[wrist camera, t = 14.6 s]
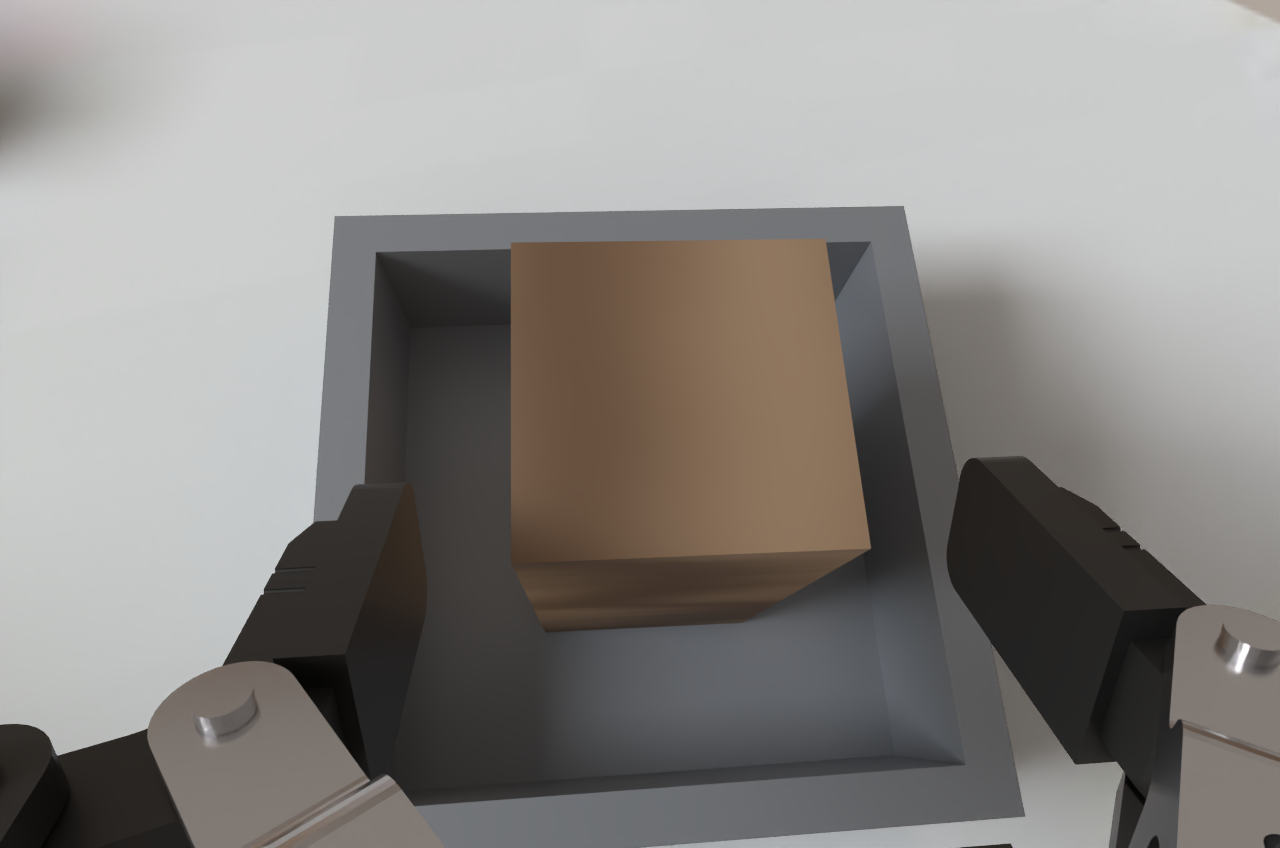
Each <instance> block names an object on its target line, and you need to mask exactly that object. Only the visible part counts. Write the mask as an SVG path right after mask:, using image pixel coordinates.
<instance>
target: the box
mask: <svg viewBox="0 0 1280 848" xmlns="http://www.w3.org/2000/svg"><path fill="white" fill-rule="evenodd" d="M772 239H826V246H827V252H828V259H829V266H830V273H831V279H832V286H833V293H834V300H835V307H836V313H837V320H838V327H839V334H840V341H841V347H842V354H843V361H844V368H845V375H846V381H847V388H848V395H849V402H850V408H851V415H852V422H853V429H854V436H855V442H856V449H857V456H858V463H859V470H860V476H861V483H862V490H863V497H864V503H865V510H866V517H867V524H868V531H869V537H870V544H871V549H870V550H868V551H866V552H864V553H863V554H861V555H859V556H857V557H856V558H854V559H852V560H850V561H849V562H847V563H845V564H843V565H842V566H840V567H838V568H837V569H835V570H833V571H831V572H830V573H828V574H826V575H824V576H823V577H821V578H819V579H817V580H816V581H814V582H812V583H811V584H809V585H807V586H805V587H804V588H802V589H800V590H798V591H797V592H795V593H793V594H791V595H790V596H788V597H786V598H785V599H783V600H781V601H779V602H778V603H776V604H774V605H772V606H771V607H769V608H767V609H765V610H764V611H762V612H760V613H758V614H757V615H755V616H753V617H752V618H750V619H748V620H746V621H745V622H743V623H730V624H709V625H688V626H667V627H646V628H626V629H605V630H584V631H563V632H545V631H544V629H543V627H542V625H541V623H540V621H539V619H538V617H537V615H536V613H535V611H534V609H533V607H532V605H531V603H530V601H529V599H528V597H527V595H526V593H525V591H524V589H523V587H522V585H521V583H520V581H519V579H518V577H517V575H516V573H515V571H514V569H513V567H512V565H511V243H512V242H599V241H685V240H772ZM399 482H409V483H410V484H411V485H412V488H413V491H414V495H415V501H416V508H417V515H418V521H419V528H420V535H421V542H422V549H423V555H424V562H425V569H426V578H427V606H426V615H425V620H424V624H423V628H422V632H421V636H420V641H419V645H418V649H417V653H416V657H415V661H414V665H413V670H412V674H411V678H410V682H409V686H408V690H407V694H406V699H405V703H404V707H403V711H402V715H401V719H400V723H399V728H398V732H397V736H396V740H395V744H394V748H393V752H392V757H391V761H390V765H389V769H388V773H387V775H388V776H389V777H391V778H392V779H393V780H394V781H395V782H396V783H397V784H398V786H399V787H400V788H401V789H402V791H403V792H404V793H405V795H406V796H407V797H408V799H409V800H410V801H411V803H412V804H413V805H414V807H415V808H416V809H417V811H418V812H419V813H420V814H421V816H422V817H423V818H424V820H425V821H426V822H427V824H428V825H429V826H430V828H431V829H432V830H433V832H434V833H435V834H436V836H437V837H438V838H439V840H440V841H441V842H442V844H443V845H444V846H445V848H640V847H652V846H665V845H677V844H689V843H702V842H714V841H727V840H739V839H751V838H764V837H776V836H789V835H801V834H813V833H826V832H838V831H851V830H863V829H875V828H888V827H900V826H912V825H925V824H937V823H950V822H962V821H974V820H987V819H999V818H1012V817H1024V816H1025V813H1024V808H1023V803H1022V798H1021V793H1020V788H1019V783H1018V778H1017V773H1016V768H1015V763H1014V758H1013V753H1012V748H1011V743H1010V738H1009V733H1008V728H1007V723H1006V718H1005V713H1004V708H1003V703H1002V698H1001V693H1000V688H999V683H998V678H997V673H996V668H995V663H994V658H993V652H992V647H991V642H990V640H989V639H988V637H987V636H986V634H985V633H984V631H983V630H982V628H981V627H980V626H979V624H978V623H977V621H976V620H975V618H974V617H973V615H972V614H971V613H970V611H969V610H968V608H967V607H966V605H965V604H964V602H963V601H962V600H961V598H960V597H959V595H958V594H957V592H956V591H955V589H954V587H953V585H952V583H951V580H950V577H949V573H948V568H947V558H946V554H947V544H948V539H949V534H950V528H951V523H952V518H953V513H954V507H955V502H956V497H957V491H958V486H959V482H958V476H957V471H956V466H955V461H954V456H953V451H952V446H951V441H950V436H949V431H948V426H947V421H946V416H945V411H944V406H943V401H942V396H941V391H940V386H939V381H938V376H937V371H936V366H935V361H934V356H933V351H932V346H931V341H930V336H929V331H928V326H927V321H926V316H925V311H924V305H923V300H922V295H921V290H920V285H919V280H918V275H917V270H916V265H915V260H914V255H913V250H912V245H911V240H910V235H909V230H908V225H907V220H906V215H905V210H904V206H886V207H830V208H774V209H718V210H663V211H607V212H551V213H495V214H439V215H383V216H335V222H334V236H333V250H332V264H331V279H330V293H329V307H328V321H327V336H326V350H325V364H324V379H323V393H322V407H321V421H320V436H319V450H318V464H317V478H316V493H315V507H314V521H313V523H314V522H316V521H333V520H337V519H338V517H339V515H340V513H341V511H342V509H343V507H344V505H345V502H346V500H347V498H348V496H349V494H350V492H351V490H352V488H353V486H354V485H356V484H376V483H399Z"/></svg>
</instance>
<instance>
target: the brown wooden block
mask: <svg viewBox="0 0 1280 848" xmlns="http://www.w3.org/2000/svg"><path fill="white" fill-rule="evenodd" d="M870 549H871V544H870V537H869V531H868V524H867V517H866V510H865V503H864V497H863V490H862V483H861V476H860V470H859V463H858V456H857V449H856V442H855V436H854V429H853V422H852V415H851V408H850V402H849V395H848V388H847V381H846V375H845V368H844V361H843V354H842V347H841V341H840V334H839V327H838V320H837V313H836V307H835V300H834V293H833V286H832V279H831V273H830V266H829V259H828V252H827V246H826V239H772V240H685V241H599V242H512V243H511V565H512V567H513V569H514V571H515V573H516V575H517V577H518V579H519V581H520V583H521V585H522V587H523V589H524V591H525V593H526V595H527V597H528V599H529V601H530V603H531V605H532V607H533V609H534V611H535V613H536V615H537V617H538V619H539V621H540V623H541V625H542V627H543V629H544V631H545V632H563V631H584V630H605V629H626V628H646V627H667V626H688V625H709V624H730V623H743V622H745V621H746V620H748V619H750V618H752V617H753V616H755V615H757V614H758V613H760V612H762V611H764V610H765V609H767V608H769V607H771V606H772V605H774V604H776V603H778V602H779V601H781V600H783V599H785V598H786V597H788V596H790V595H791V594H793V593H795V592H797V591H798V590H800V589H802V588H804V587H805V586H807V585H809V584H811V583H812V582H814V581H816V580H817V579H819V578H821V577H823V576H824V575H826V574H828V573H830V572H831V571H833V570H835V569H837V568H838V567H840V566H842V565H843V564H845V563H847V562H849V561H850V560H852V559H854V558H856V557H857V556H859V555H861V554H863V553H864V552H866V551H868V550H870Z"/></svg>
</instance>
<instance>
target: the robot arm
mask: <svg viewBox="0 0 1280 848" xmlns="http://www.w3.org/2000/svg"><path fill="white" fill-rule="evenodd" d="M946 558H947V568H948V573H949V577H950V580H951V583H952V585H953V587H954V589H955V591H956V592H957V594H958V595H959V597H960V598H961V600H962V601H963V602H964V604H965V605H966V607H967V608H968V610H969V611H970V613H971V614H972V615H973V617H974V618H975V620H976V621H977V623H978V624H979V626H980V627H981V628H982V630H983V631H984V633H985V634H986V636H987V637H988V639H989V640H990V642H991V643H992V644H993V646H994V647H995V649H996V650H997V652H998V653H999V655H1000V656H1001V657H1002V659H1003V660H1004V662H1005V663H1006V665H1007V666H1008V668H1009V669H1010V670H1011V672H1012V673H1013V675H1014V676H1015V678H1016V679H1017V681H1018V682H1019V683H1020V685H1021V686H1022V688H1023V689H1024V691H1025V692H1026V694H1027V695H1028V696H1029V698H1030V699H1031V701H1032V702H1033V704H1034V705H1035V707H1036V708H1037V710H1038V711H1039V712H1040V714H1041V715H1042V717H1043V718H1044V720H1045V721H1046V723H1047V724H1048V725H1049V727H1050V728H1051V730H1052V731H1053V733H1054V734H1055V736H1056V737H1057V738H1058V740H1059V741H1060V743H1061V744H1062V746H1063V747H1064V749H1065V750H1066V751H1067V753H1068V754H1069V756H1070V757H1071V759H1072V760H1073V762H1074V763H1075V764H1089V763H1103V762H1116V761H1117V763H1118V764H1119V765H1120V767H1121V768H1122V769H1123V771H1124V772H1123V775H1122V778H1121V780H1120V783H1119V786H1118V789H1117V793H1116V799H1115V806H1114V814H1113V821H1112V828H1111V835H1110V843H1109V848H1280V623H1279V622H1277V621H1275V620H1273V619H1270V618H1268V617H1265V616H1263V615H1260V614H1257V613H1254V612H1251V611H1247V610H1243V609H1239V608H1235V607H1229V606H1220V605H1206V604H1205V603H1204V602H1203V601H1202V600H1201V599H1200V598H1198V597H1197V596H1196V595H1195V594H1194V593H1193V592H1192V591H1191V590H1190V589H1188V588H1187V587H1186V586H1185V585H1184V584H1183V583H1182V582H1181V581H1180V580H1178V579H1177V578H1176V577H1175V576H1174V575H1173V574H1172V573H1171V572H1170V571H1168V570H1167V569H1166V568H1165V567H1164V566H1163V565H1162V564H1161V563H1160V562H1158V561H1157V560H1156V559H1155V558H1154V557H1153V556H1152V555H1151V554H1150V553H1149V552H1147V551H1146V550H1141V549H1140V544H1139V543H1137V542H1136V541H1135V540H1134V539H1133V538H1132V537H1131V536H1130V535H1129V534H1127V533H1126V532H1125V531H1122V532H1121V531H1120V526H1119V525H1117V524H1116V523H1115V522H1114V521H1113V520H1112V519H1111V518H1110V517H1109V516H1107V515H1106V514H1105V513H1104V512H1103V511H1102V510H1101V509H1100V508H1099V507H1097V506H1096V505H1095V504H1093V503H1091V502H1089V501H1087V500H1085V499H1083V498H1081V497H1079V496H1077V495H1075V494H1073V493H1072V492H1070V491H1068V490H1066V489H1064V488H1062V487H1058V486H1056V485H1055V484H1054V483H1053V482H1052V481H1051V480H1050V479H1049V478H1048V477H1047V476H1046V475H1045V474H1044V473H1043V472H1041V471H1040V470H1039V469H1038V468H1037V467H1036V466H1035V465H1034V464H1033V463H1032V462H1031V461H1030V460H1028V459H1027V458H1025V457H1023V456H1012V457H990V458H972V459H969V460H968V461H967V462H966V463H965V465H964V467H963V469H962V472H961V476H960V481H959V486H958V491H957V497H956V502H955V507H954V513H953V518H952V523H951V528H950V534H949V539H948V544H947V554H946ZM426 606H427V578H426V569H425V562H424V555H423V549H422V542H421V535H420V528H419V521H418V515H417V508H416V501H415V495H414V491H413V488H412V485H411V484H410V483H409V482H399V483H376V484H356V485H354V486H353V488H352V490H351V492H350V494H349V496H348V498H347V500H346V502H345V505H344V507H343V509H342V511H341V513H340V515H339V517H338V519H337V520H333V521H316V522H314V523H313V524H312V525H311V526H310V527H308V528H307V529H306V530H305V531H303V532H302V533H301V534H300V535H298V536H297V537H296V538H295V539H294V540H292V541H291V542H290V543H289V544H288V546H287V548H286V549H285V551H284V553H283V555H282V557H281V559H280V560H279V562H278V564H277V566H276V568H275V574H272V575H271V577H270V579H269V581H268V583H267V584H266V586H265V588H264V595H261V596H260V597H259V599H258V601H257V603H256V605H255V607H254V609H253V610H252V612H251V614H250V616H249V618H248V620H247V621H246V623H245V625H244V627H243V629H242V631H241V633H240V634H239V636H238V638H237V640H236V642H235V644H234V645H233V647H232V649H231V651H230V653H229V655H228V657H227V658H226V660H225V662H224V664H223V666H221V667H218V668H215V669H213V670H210V671H207V672H205V673H203V674H201V675H199V676H197V677H195V678H193V679H191V680H190V681H188V682H186V683H185V684H183V685H182V686H180V687H179V688H178V689H176V690H175V691H174V692H173V693H171V694H170V695H169V696H168V697H167V698H166V699H165V700H164V701H163V702H162V703H161V705H160V706H159V707H158V708H157V710H156V711H155V713H154V715H153V716H152V718H151V720H150V723H149V727H148V729H145V730H143V731H140V732H137V733H134V734H131V735H128V736H125V737H121V738H118V739H114V740H111V741H107V742H104V743H100V744H97V745H93V746H90V747H87V748H83V749H80V750H76V751H73V752H69V753H66V754H62V755H59V756H57V755H56V753H55V750H54V748H53V746H52V743H51V741H50V739H49V737H48V736H47V735H46V734H45V733H44V732H43V731H41V730H40V729H38V728H36V727H32V726H29V725H21V724H5V725H0V848H445V846H444V845H443V844H442V842H441V841H440V840H439V838H438V837H437V836H436V834H435V833H434V832H433V830H432V829H431V828H430V826H429V825H428V824H427V822H426V821H425V820H424V818H423V817H422V816H421V814H420V813H419V812H418V811H417V809H416V808H415V807H414V805H413V804H412V803H411V801H410V800H409V799H408V797H407V796H406V795H405V793H404V792H403V791H402V789H401V788H400V787H399V786H398V784H397V783H396V782H395V781H394V780H393V779H392V778H391V777H389V776H388V775H387V773H388V769H389V765H390V761H391V757H392V752H393V748H394V744H395V740H396V736H397V732H398V728H399V723H400V719H401V715H402V711H403V707H404V703H405V699H406V694H407V690H408V686H409V682H410V678H411V674H412V670H413V665H414V661H415V657H416V653H417V649H418V645H419V641H420V636H421V632H422V628H423V624H424V620H425V615H426ZM962 848H1013V847H1012V846H1011V844H1000V845H987V846H974V847H962Z"/></svg>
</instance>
